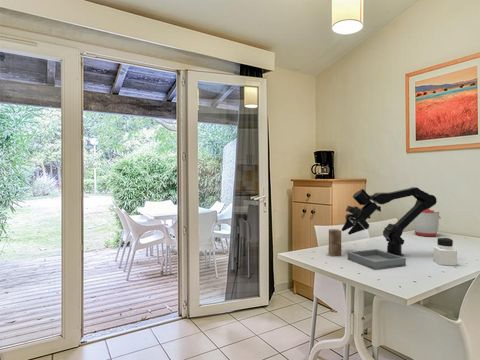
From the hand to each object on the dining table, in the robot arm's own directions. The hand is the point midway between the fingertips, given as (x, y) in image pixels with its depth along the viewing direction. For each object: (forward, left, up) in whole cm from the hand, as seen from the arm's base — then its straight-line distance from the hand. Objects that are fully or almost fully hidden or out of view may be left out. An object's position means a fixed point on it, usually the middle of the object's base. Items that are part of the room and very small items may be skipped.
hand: (345, 232), depth 161 cm
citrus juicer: (-87, -24, -12) cm, 91 cm away
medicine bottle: (-35, +28, -12) cm, 46 cm away
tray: (-5, +16, -12) cm, 21 cm away
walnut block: (+5, -2, -12) cm, 13 cm away
